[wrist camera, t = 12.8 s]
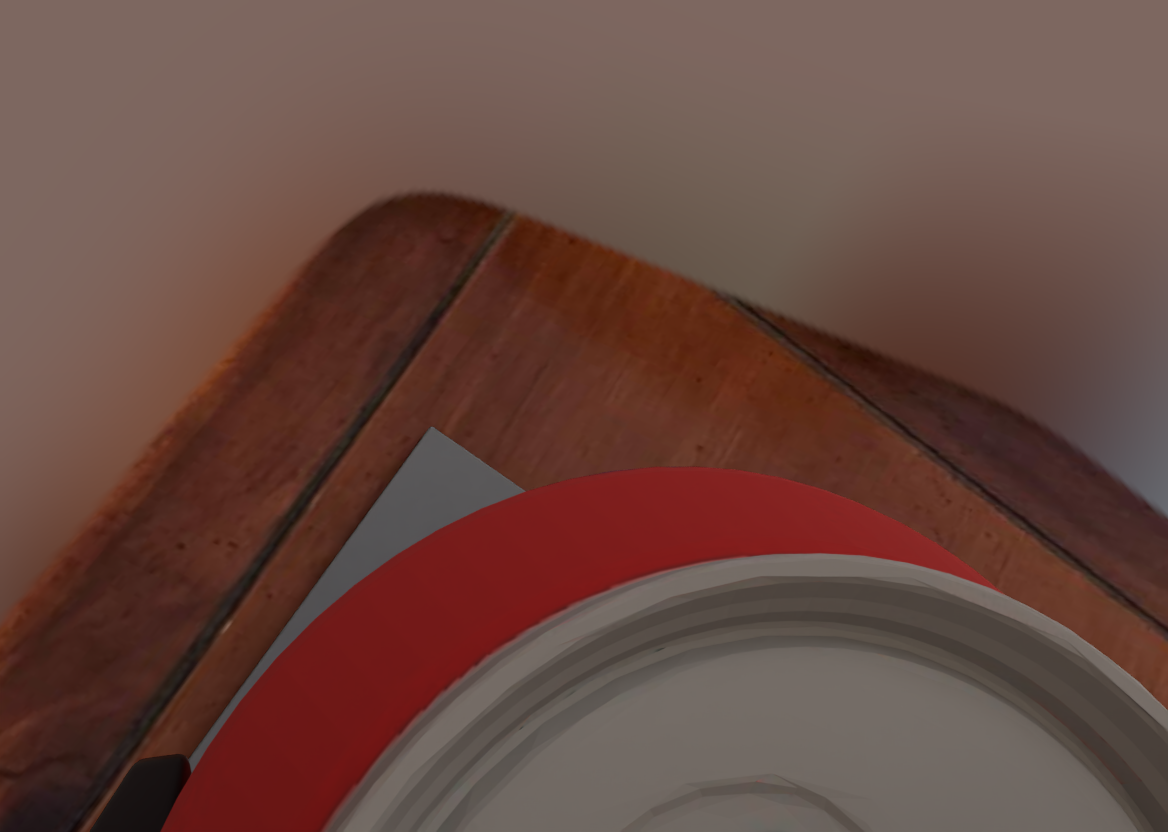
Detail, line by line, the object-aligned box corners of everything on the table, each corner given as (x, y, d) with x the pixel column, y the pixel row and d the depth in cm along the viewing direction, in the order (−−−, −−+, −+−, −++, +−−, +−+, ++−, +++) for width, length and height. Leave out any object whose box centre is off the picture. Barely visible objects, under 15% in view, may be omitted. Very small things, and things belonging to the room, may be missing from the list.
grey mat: (471, 1064, 19) (474, 1073, 19) (125, 845, 18) (121, 850, 18) (719, 629, 22) (725, 630, 22) (429, 428, 21) (431, 425, 21)
